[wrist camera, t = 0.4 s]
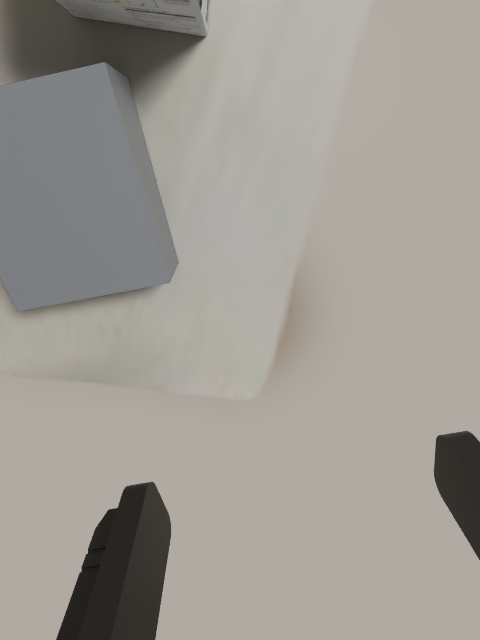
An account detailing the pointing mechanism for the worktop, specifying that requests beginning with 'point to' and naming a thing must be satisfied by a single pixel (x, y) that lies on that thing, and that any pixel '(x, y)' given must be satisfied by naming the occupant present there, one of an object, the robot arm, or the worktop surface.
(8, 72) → the worktop surface
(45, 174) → the stand
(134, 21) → the light bulb box
